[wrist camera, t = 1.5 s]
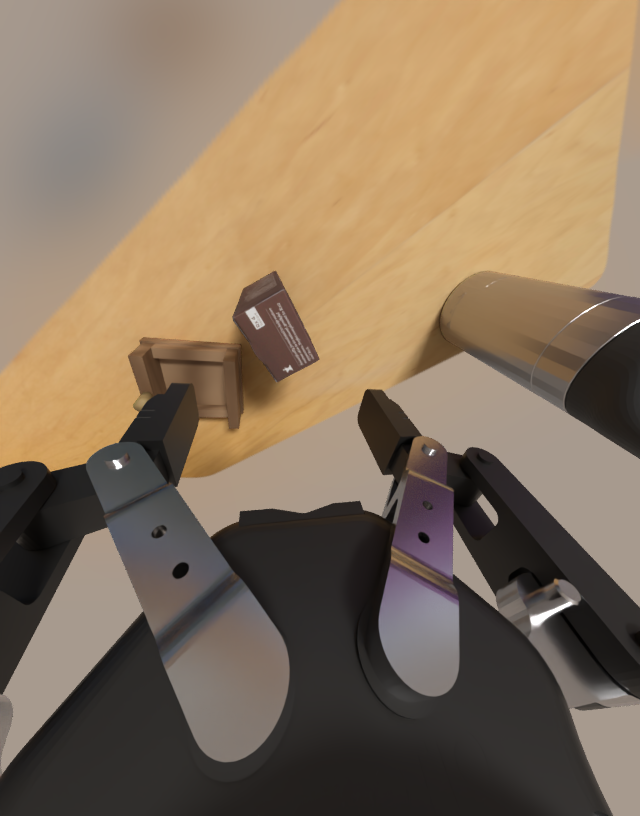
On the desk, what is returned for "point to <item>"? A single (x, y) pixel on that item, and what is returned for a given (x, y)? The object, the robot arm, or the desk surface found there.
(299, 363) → the box
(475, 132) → the desk surface
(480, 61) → the desk surface
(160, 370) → the drawer
